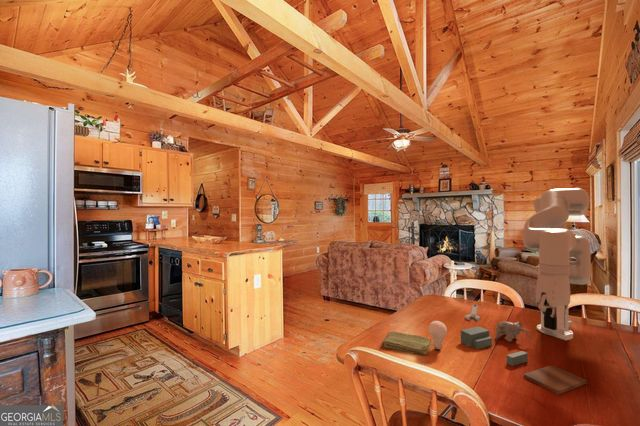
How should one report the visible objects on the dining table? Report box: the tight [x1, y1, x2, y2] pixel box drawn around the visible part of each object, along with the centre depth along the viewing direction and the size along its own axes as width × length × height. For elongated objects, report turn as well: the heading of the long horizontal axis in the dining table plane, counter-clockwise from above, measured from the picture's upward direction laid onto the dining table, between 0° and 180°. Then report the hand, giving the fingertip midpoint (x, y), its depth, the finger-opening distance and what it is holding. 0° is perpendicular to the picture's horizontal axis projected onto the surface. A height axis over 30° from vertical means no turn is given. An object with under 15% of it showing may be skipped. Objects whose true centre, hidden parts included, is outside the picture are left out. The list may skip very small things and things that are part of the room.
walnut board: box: [523, 364, 588, 395], centre depth 95 cm, size 14×10×1 cm
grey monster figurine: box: [495, 321, 531, 343], centre depth 125 cm, size 9×12×8 cm
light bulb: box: [428, 320, 448, 350], centre depth 117 cm, size 7×7×11 cm
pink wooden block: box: [545, 304, 574, 341], centre depth 94 cm, size 4×6×10 cm, turn 22°
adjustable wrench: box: [464, 304, 481, 322], centre depth 156 cm, size 25×6×2 cm, turn 145°
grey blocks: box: [460, 325, 529, 367], centre depth 115 cm, size 10×21×5 cm, turn 22°
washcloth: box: [381, 331, 432, 356], centre depth 121 cm, size 13×18×3 cm
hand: (554, 327), depth 95 cm, fingers closed on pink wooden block, 3 cm apart
